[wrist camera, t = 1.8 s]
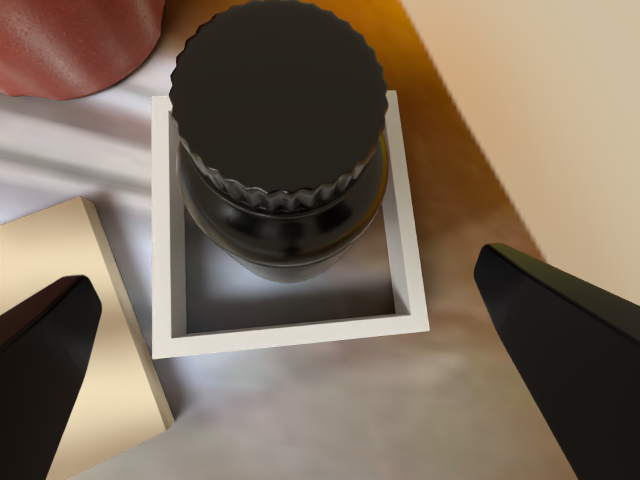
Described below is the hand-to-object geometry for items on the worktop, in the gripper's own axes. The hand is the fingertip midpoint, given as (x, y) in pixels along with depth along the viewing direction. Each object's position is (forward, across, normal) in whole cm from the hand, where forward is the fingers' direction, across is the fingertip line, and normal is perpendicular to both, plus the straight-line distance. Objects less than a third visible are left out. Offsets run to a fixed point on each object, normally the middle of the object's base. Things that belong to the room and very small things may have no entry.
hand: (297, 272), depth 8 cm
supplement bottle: (+10, 0, +5) cm, 11 cm away
